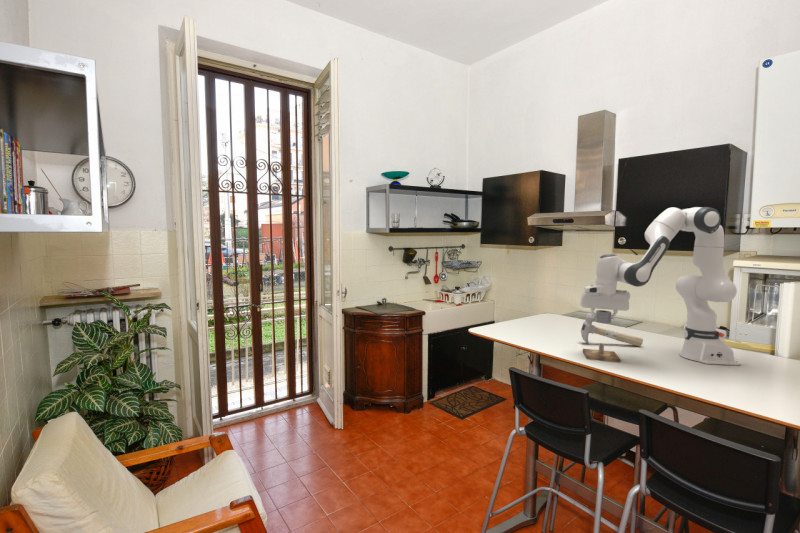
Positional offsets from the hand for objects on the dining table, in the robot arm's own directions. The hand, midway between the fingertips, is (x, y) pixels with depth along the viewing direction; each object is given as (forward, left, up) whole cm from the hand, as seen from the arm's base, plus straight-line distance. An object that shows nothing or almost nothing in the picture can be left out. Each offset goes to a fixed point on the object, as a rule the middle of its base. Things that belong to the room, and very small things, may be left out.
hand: (603, 318), depth 190 cm
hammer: (-10, -24, -19) cm, 32 cm away
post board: (0, 0, -18) cm, 18 cm away
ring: (0, 0, -2) cm, 2 cm away
